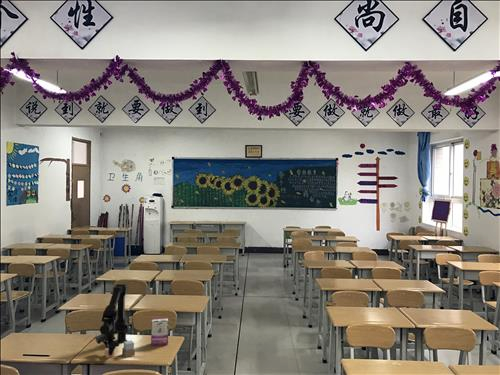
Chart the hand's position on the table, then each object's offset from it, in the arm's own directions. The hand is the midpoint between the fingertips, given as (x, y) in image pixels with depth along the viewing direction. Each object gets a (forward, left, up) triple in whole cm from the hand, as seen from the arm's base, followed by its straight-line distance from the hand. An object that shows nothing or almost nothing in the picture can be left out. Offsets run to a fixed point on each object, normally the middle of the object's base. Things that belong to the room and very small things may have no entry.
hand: (109, 354), depth 272 cm
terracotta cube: (0, 0, -1) cm, 1 cm away
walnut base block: (+4, +11, -1) cm, 12 cm away
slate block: (+4, +11, +3) cm, 12 cm away
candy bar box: (-4, +35, -1) cm, 35 cm away
